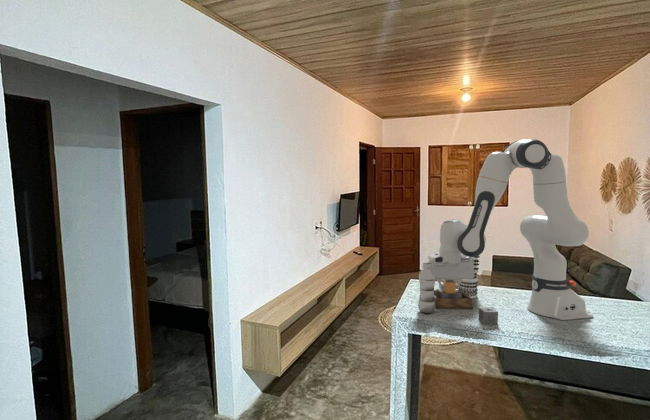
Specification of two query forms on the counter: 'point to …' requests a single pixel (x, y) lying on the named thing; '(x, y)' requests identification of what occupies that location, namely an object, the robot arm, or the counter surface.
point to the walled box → (452, 300)
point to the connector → (449, 286)
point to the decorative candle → (470, 281)
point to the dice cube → (488, 316)
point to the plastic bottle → (427, 289)
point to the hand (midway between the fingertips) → (449, 288)
